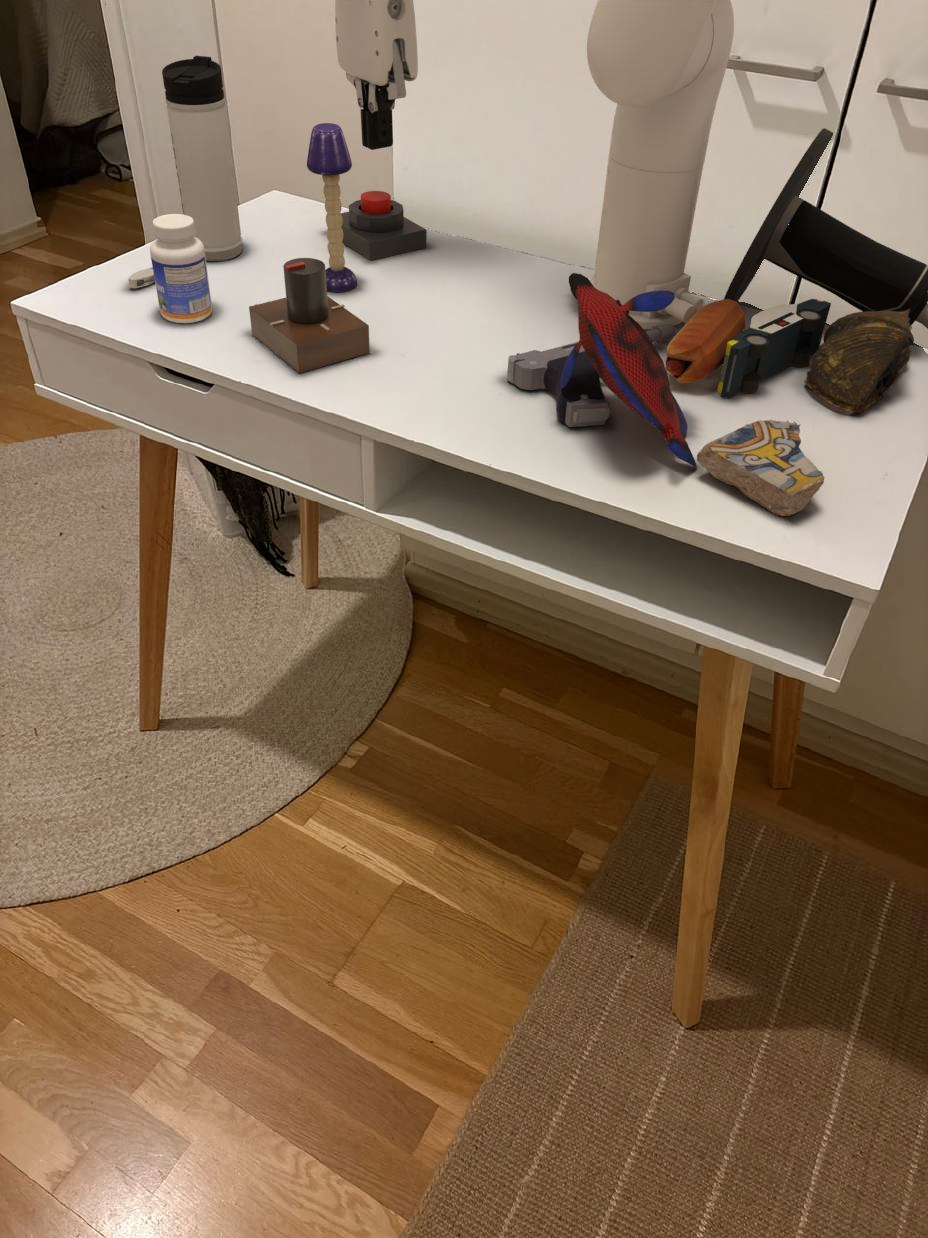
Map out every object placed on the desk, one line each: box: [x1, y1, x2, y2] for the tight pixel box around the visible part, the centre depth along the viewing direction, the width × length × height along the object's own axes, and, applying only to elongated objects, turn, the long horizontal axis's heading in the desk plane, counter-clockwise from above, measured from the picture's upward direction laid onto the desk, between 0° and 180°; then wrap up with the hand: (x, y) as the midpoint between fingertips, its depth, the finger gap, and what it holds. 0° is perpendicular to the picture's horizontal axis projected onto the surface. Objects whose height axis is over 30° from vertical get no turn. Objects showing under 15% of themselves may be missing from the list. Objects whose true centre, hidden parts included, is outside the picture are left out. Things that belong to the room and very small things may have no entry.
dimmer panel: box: [248, 295, 371, 374], centre depth 100 cm, size 10×8×3 cm
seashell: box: [803, 309, 915, 413], centre depth 97 cm, size 16×9×7 cm, turn 148°
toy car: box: [716, 298, 832, 399], centre depth 98 cm, size 5×16×5 cm
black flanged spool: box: [723, 127, 928, 330], centre depth 103 cm, size 19×19×25 cm
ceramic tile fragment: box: [696, 419, 825, 517], centre depth 83 cm, size 12×3×10 cm
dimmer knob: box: [282, 257, 328, 324], centre depth 97 cm, size 4×4×5 cm
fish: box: [560, 272, 698, 469], centre depth 87 cm, size 20×12×15 cm
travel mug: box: [161, 55, 244, 262], centre depth 112 cm, size 6×7×20 cm
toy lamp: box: [306, 122, 358, 293], centre depth 106 cm, size 5×5×17 cm
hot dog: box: [665, 298, 746, 384], centre depth 98 cm, size 5×13×5 cm
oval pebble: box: [127, 267, 155, 289], centre depth 111 cm, size 6×2×1 cm, turn 152°
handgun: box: [506, 324, 677, 428], centre depth 96 cm, size 3×20×12 cm
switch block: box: [340, 199, 428, 261], centre depth 121 cm, size 10×8×4 cm
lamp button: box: [360, 190, 392, 214], centre depth 119 cm, size 4×4×2 cm
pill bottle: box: [149, 213, 213, 324], centre depth 102 cm, size 5×5×10 cm
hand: (377, 145), depth 115 cm, fingers closed
